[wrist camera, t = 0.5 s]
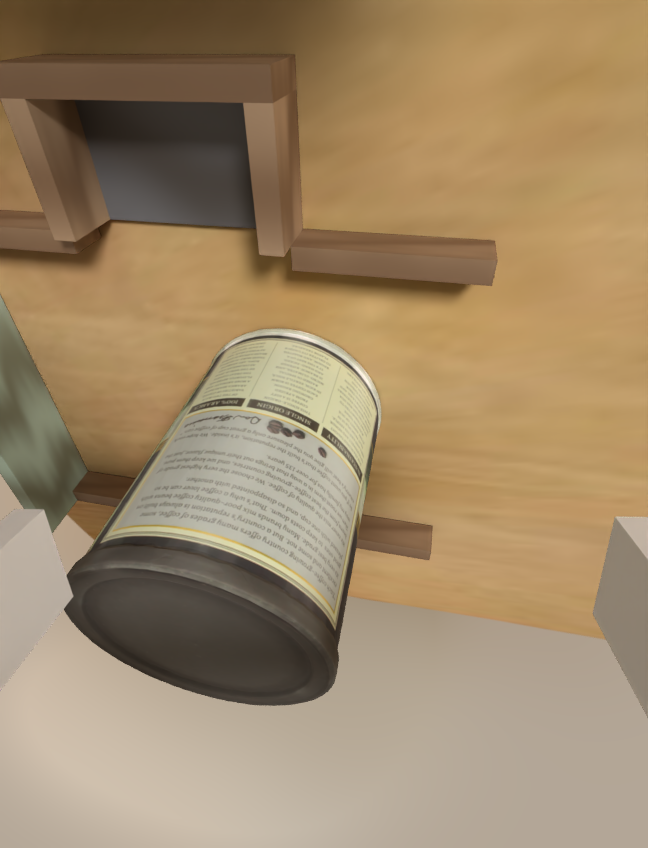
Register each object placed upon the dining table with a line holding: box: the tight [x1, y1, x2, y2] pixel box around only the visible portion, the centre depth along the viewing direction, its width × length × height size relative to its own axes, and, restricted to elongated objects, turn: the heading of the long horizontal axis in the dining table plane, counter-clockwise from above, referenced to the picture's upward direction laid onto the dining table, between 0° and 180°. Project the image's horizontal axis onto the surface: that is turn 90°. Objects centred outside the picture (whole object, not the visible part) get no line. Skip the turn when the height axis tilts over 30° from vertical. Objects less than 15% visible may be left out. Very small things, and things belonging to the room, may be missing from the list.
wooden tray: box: [0, 54, 497, 560], centre depth 27 cm, size 32×26×5 cm
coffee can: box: [64, 328, 381, 706], centre depth 23 cm, size 10×10×14 cm
